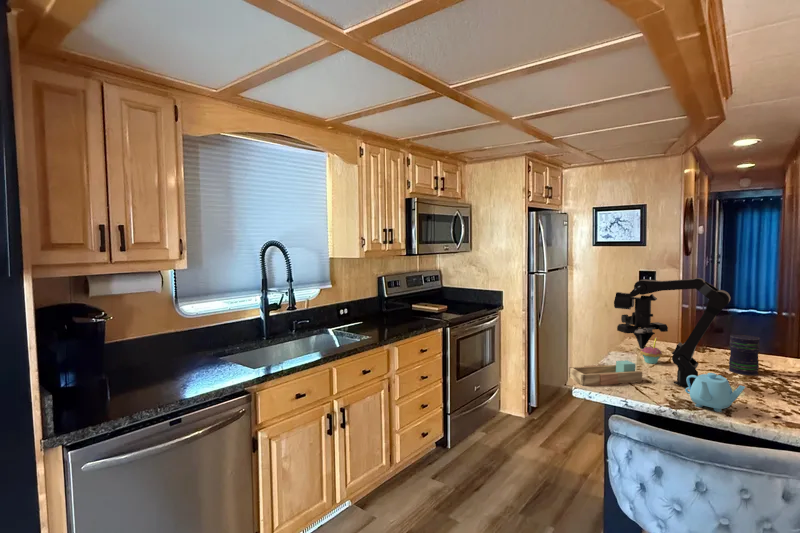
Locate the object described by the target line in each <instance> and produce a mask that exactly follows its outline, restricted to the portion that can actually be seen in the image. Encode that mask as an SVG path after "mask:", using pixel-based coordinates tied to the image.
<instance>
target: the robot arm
mask: <svg viewBox="0 0 800 533" xmlns="http://www.w3.org/2000/svg"><path fill="white" fill-rule="evenodd" d="M675 290H676V291H681V290H696V291H697V292H700V294H701V295H702V296H704V297H705V298H707V299H708V302H707V304H706V306H705V310H704V313H703V314H702V316H701V317H700V318H699V320H698V321H697V323H696V325H695V326H694V328H693V330H692V331H691V333H690V334H689V335H688V337H687V339H686V340H685V342H683V343H682V342H680V341H679V342H678V343H677V344H676V346H675V349H673V351H672V352H671V354H672V356H671V360H672V362H673V364H675V366H677V372H676V381H673V383H674V384H675V385H678V386H680V387H683V388H685V389H686V388H687V387H688V384H687V381H686V379H687V377H688V376H690V375H696V376H699V371H697V368H698V366H699V363H698V361H697V360H696V359H695V358H693V356H694V354H695V351H696V348H697V346H698V344H699V342H700V341H701V340H702V338H703V336H704V334H705V333H706V332H707V330H708V329H709V327H710V325H711V324H712V323H713V321H714V319H715V318H716V317H717V316H718V315H719V314H720V313H721V312H722V310H724V308H725V307H726V306H727V305H729V303H730V301H731V300H732V299H731V296H730V293H729V292H727V291H726V290H724V289H718V288H717V287H716V286H714V285H713V284H711V283H709V282H707V281H705V279H704V278H702V277H697V278H689V279H688V278H686V279H672V280H656V279H645V278H644V279H640V280H637V281H636V282H635V283H634V285H633V289H632V290H631V291H630V292H621V291H619V292H618V291H616V292H615V297H614V300H613V306H614V309H617V310H618V309H619V310H620V309H621V310H631V308H634V311H632V312H631V315H630V316H629V315H628V314H621V323H618V325H617V327H616V328H617V329H616V331H618V332H621V333H624V334H633V335H634V336H635V339H636V341H637V344H638V347H639V349H640V350H641V349H644V348H645V347H647V346H646V345H647V344H648V343H649V340H650V339H651V338H652V336H654V335H655V333H656V332H653V330H654V331H655V330H658V331H660V332H661V333H662V332H663V333H664V332H668V331H669V327H668V325H667V324H666V323H662V322H660V321H659V322H651V319H652V317H654V314H653V313H652V301H653V302H655V301H657V300H658V297H656V296H654V294H653V293H657V292H661V291H675ZM649 294H650V295H649ZM639 295H641V296H640V297H638V296H639ZM695 379H696V378H694V377H691V378H690V379H689V381H690V384H691V386H692V384H693V382H694V381H695Z"/></svg>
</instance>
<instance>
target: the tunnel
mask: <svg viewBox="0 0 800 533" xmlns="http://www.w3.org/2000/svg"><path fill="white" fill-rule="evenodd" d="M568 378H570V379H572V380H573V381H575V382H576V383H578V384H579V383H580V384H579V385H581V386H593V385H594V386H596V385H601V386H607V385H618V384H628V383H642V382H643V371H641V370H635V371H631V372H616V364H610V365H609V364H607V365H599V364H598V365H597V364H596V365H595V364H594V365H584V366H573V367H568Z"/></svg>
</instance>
